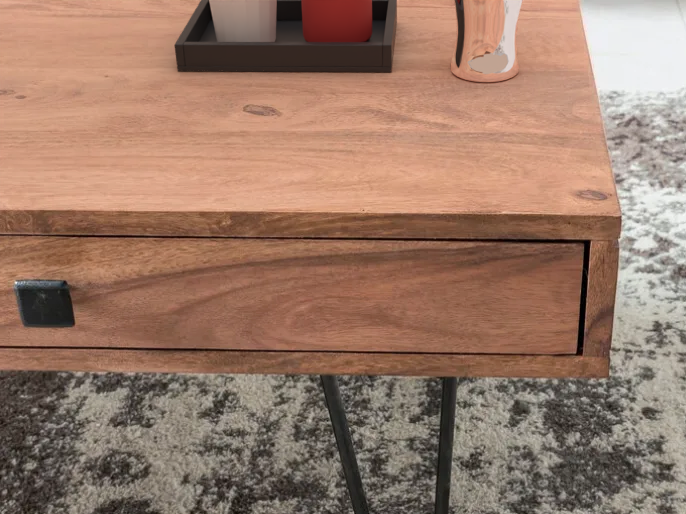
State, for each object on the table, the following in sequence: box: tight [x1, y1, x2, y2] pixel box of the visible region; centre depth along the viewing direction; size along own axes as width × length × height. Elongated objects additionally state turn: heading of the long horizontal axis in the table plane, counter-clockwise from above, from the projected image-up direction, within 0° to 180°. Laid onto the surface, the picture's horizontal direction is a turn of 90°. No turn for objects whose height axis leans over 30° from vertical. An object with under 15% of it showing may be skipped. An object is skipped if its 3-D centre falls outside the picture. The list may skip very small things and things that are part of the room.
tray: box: [174, 0, 398, 73], centre depth 100 cm, size 20×14×2 cm
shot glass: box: [209, 0, 277, 42], centre depth 99 cm, size 7×7×7 cm
